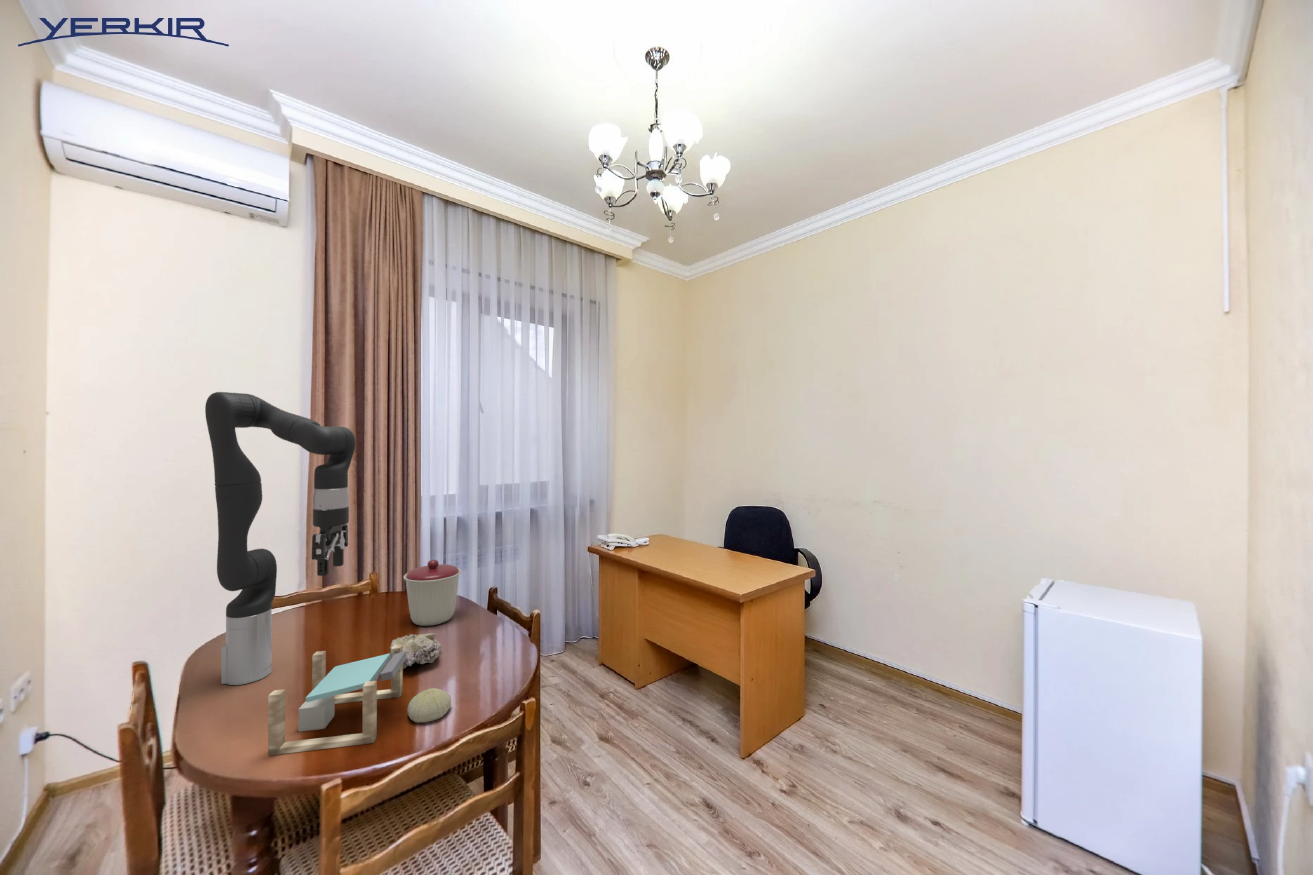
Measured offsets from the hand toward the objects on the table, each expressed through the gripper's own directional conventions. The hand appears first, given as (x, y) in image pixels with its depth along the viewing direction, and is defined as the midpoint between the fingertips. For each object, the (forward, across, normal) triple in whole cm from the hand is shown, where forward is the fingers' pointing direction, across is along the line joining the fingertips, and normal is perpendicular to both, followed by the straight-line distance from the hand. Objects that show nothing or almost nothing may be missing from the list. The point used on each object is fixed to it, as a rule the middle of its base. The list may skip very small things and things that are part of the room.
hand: (330, 570), depth 120 cm
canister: (+30, -44, +14) cm, 55 cm away
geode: (+30, -12, +17) cm, 37 cm away
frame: (+30, +15, +9) cm, 35 cm away
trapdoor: (+21, +15, +12) cm, 28 cm away
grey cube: (+28, +15, +6) cm, 32 cm away
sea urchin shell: (+30, +16, +27) cm, 44 cm away
